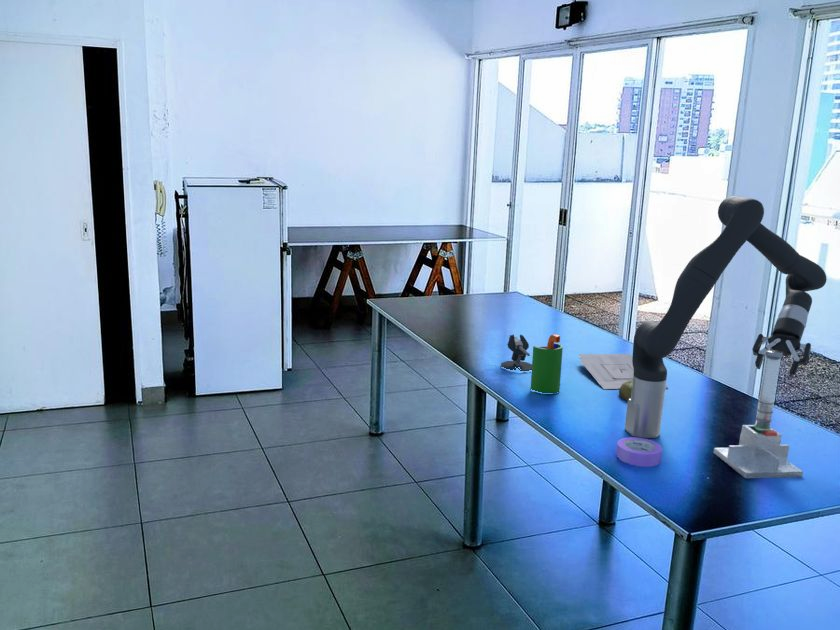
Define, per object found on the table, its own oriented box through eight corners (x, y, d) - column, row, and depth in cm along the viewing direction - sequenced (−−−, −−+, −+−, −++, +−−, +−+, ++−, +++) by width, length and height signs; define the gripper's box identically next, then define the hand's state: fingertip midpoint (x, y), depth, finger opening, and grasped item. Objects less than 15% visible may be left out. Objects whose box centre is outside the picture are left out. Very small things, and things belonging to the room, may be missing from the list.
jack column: (758, 438, 200) (771, 354, 194) (749, 432, 204) (762, 349, 198) (772, 438, 200) (785, 354, 195) (763, 432, 204) (776, 349, 199)
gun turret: (512, 379, 267) (515, 344, 264) (495, 362, 286) (497, 329, 283) (546, 378, 270) (549, 343, 267) (526, 362, 288) (529, 329, 285)
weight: (652, 392, 260) (654, 378, 259) (666, 405, 247) (667, 391, 246) (613, 391, 260) (615, 377, 259) (625, 404, 247) (626, 390, 246)
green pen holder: (542, 383, 263) (546, 328, 259) (564, 390, 258) (570, 333, 253) (526, 390, 256) (531, 333, 251) (549, 397, 250) (554, 338, 246)
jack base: (744, 479, 195) (750, 439, 192) (710, 452, 211) (716, 415, 208) (805, 477, 197) (811, 438, 194) (767, 450, 213) (773, 414, 211)
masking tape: (607, 457, 205) (609, 443, 204) (630, 446, 213) (631, 433, 212) (646, 471, 197) (648, 457, 196) (668, 459, 205) (670, 446, 204)
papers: (632, 360, 292) (634, 351, 291) (667, 395, 265) (669, 385, 263) (572, 360, 289) (574, 352, 287) (602, 396, 261) (603, 386, 260)
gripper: (763, 312, 217) (746, 358, 210) (817, 321, 208) (802, 369, 202) (764, 326, 222) (748, 372, 216) (818, 336, 214) (802, 384, 207)
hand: (774, 371), depth 209 cm, fingers open, 8 cm apart
